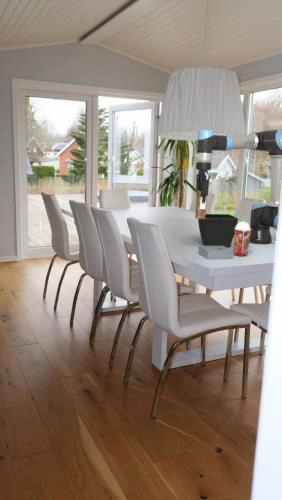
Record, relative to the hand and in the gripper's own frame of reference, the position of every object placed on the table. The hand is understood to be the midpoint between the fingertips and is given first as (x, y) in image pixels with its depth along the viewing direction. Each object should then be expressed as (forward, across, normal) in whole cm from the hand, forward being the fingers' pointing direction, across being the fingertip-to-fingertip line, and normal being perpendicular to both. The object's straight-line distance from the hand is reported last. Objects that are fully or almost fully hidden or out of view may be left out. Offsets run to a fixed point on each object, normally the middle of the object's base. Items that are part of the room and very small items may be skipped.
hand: (200, 208), depth 228 cm
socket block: (+23, +12, +5) cm, 26 cm away
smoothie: (+23, +10, +19) cm, 31 cm away
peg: (+5, 0, 0) cm, 5 cm away
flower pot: (+23, -16, +16) cm, 32 cm away
